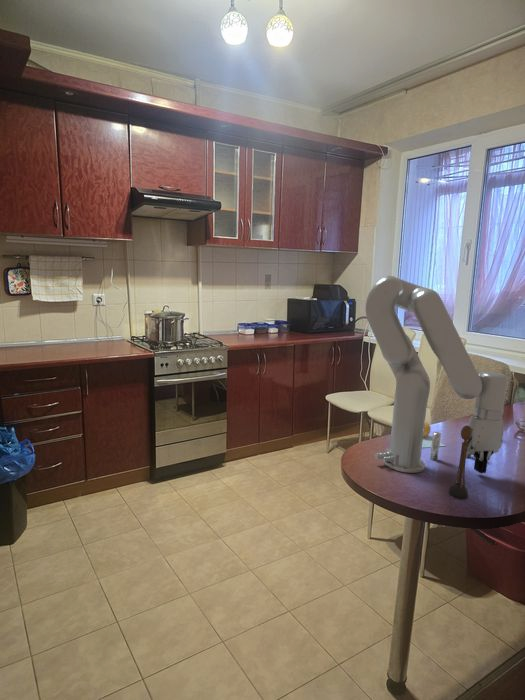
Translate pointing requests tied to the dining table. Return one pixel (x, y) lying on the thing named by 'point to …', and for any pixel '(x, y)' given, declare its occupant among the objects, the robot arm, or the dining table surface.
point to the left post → (435, 446)
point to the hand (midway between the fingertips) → (479, 471)
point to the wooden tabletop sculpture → (461, 467)
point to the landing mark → (428, 442)
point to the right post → (468, 455)
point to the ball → (426, 429)
